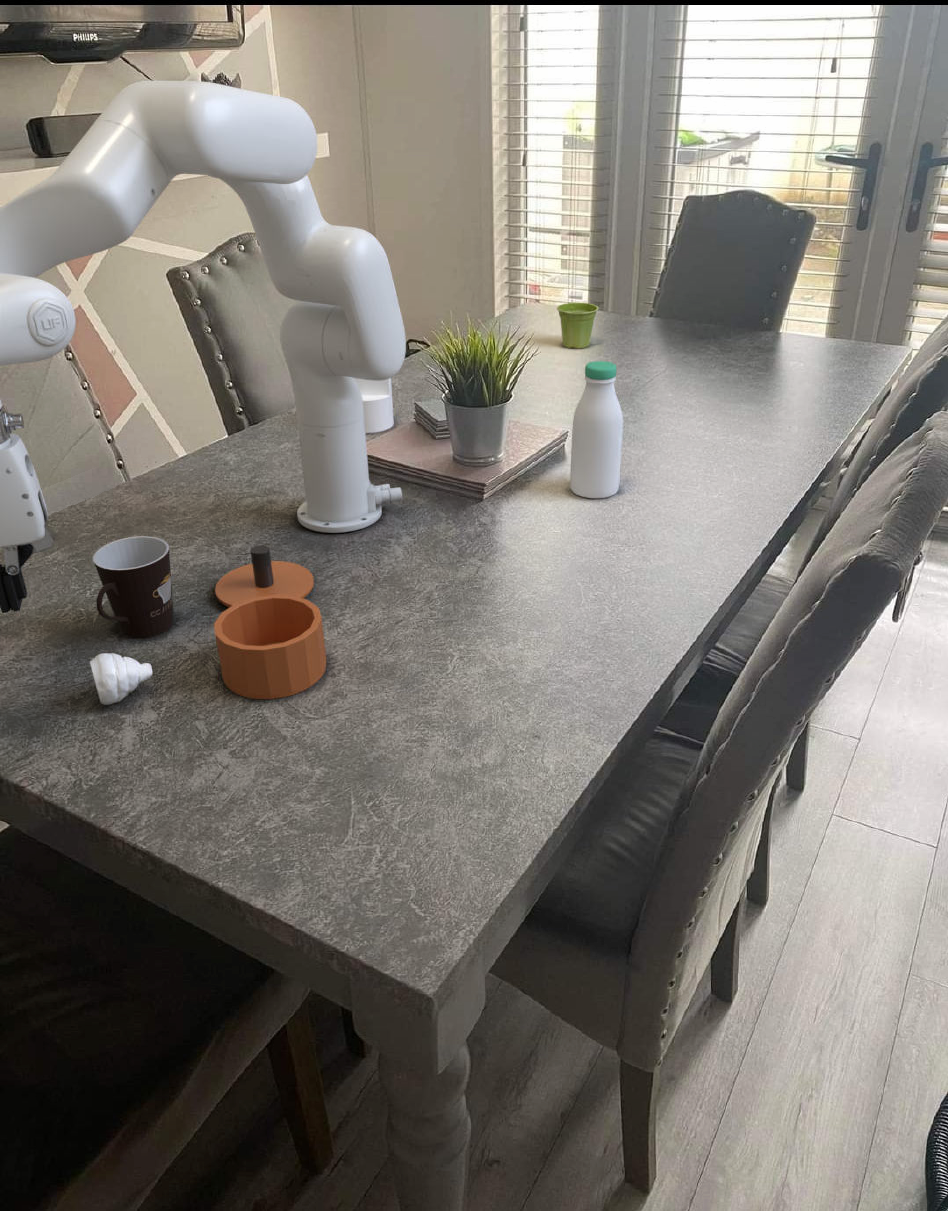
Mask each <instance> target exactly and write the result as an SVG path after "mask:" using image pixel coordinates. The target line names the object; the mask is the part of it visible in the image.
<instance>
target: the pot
mask: <svg viewBox="0 0 948 1211" xmlns="http://www.w3.org/2000/svg"><path fill="white" fill-rule="evenodd" d="M323 625H324V624H323V618H322V614H321V611H320V608H319V607H318V605H316V604H314V603H313V602H312V601H310V600H309V599H306V598H299V597H296V596H292V595H268V596H261V597H255V598H251V599H248V600H245V601H242V602H240V603H237V604H234V605H233V606H231V607H227V609H225V610H223V611H222V612H221V613H220V614H219V616H218V617H217V619H216V620H215V622H214V624H213V630H214V636H215V642H216V648H217V653H218V659H219V665H220V670H221V675H222V680H223V682H224V684H225V686H226V688H228V689H229V690H230V691H231V692H232V693H234V694H237V695H238V696H241V697H245V698H247V699H248V698H249V699H255V700H276V699H283V698H285V697H291V696H294V695H297V694H299V693H301V692H304V691H306V690H308V689H309V688H311V687H312V686H314V685H315V684H316V683H318V682H319V681H320V680H321V678H322V677H323V676H324V674H325V673H326V668H327V653H326V644H325V643H326V642H325V634H324V626H323Z"/></svg>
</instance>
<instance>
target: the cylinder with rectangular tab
mask: <svg viewBox="0 0 948 1211" xmlns="http://www.w3.org/2000/svg"><path fill="white" fill-rule="evenodd" d="M354 379H355V381H356V383H357V385H358V387H359V390H360V392H361V395H362V399H363V406H364V420H365V433H366V434H373V433H380V432H384V431H387V430H389V429H391V428H393V426H394V424H395V422H394V406H393V405H394V404H393V388H392V377H391V378H389V379H386V380H380V381H374V380H364V379H358V378H354Z"/></svg>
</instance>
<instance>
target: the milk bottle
mask: <svg viewBox="0 0 948 1211" xmlns="http://www.w3.org/2000/svg"><path fill="white" fill-rule="evenodd" d="M584 368H585V369H584V380H585V387H584V389H583V393H582V395H581V397H580V399H579V401H578V403H577V405H576V407H575V410H574V414H573V419H572V430H571V447H570V449H571V450H570V473H569V474H570V475H569V488H570V489H571V492H573V493H574V494H575V495H578V496H580V497H583V498H589V499H603V498H609V497H612V496H614V495H616V493H617V492H618V491H619V488H620V479H621V464H622V452H623V451H622V450H623V436H624V434H623V432H624V431H623V430H624V417H623V411H622V407H621V404H620V402H619V399H618V396H617V393H616V389H615V381H616V380H617V378H616V376H617V365H616V364H615V363H613V362H611V361H605V360H596V361H591V362H588V363H586V365H585V367H584Z"/></svg>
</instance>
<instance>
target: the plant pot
mask: <svg viewBox="0 0 948 1211" xmlns="http://www.w3.org/2000/svg"><path fill="white" fill-rule="evenodd" d="M556 310H557V311H558V316H559V319H560V329H561V339H562V345H563V346H564V347H565V348H568V349H572V348H574V349H585V348H588V347H589V346H590V344H591V337H592V333H593V332H592V331H593V326H594V320H595V317H596V315H597V312H598V311H599V306H598V305H597V304H594V303H588V302H566V303H562V304H558V305H557V307H556Z"/></svg>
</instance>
